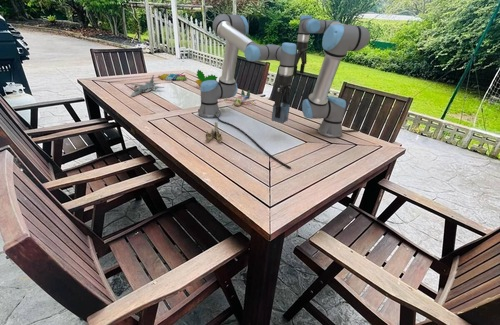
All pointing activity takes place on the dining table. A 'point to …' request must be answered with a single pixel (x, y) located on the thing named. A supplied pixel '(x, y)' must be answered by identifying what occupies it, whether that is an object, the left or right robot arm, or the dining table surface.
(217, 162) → the dining table surface
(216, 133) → the jawbone
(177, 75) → the sign
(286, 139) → the dining table surface
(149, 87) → the airplane
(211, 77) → the ornament
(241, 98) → the toy
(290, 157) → the dining table surface
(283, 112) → the block
